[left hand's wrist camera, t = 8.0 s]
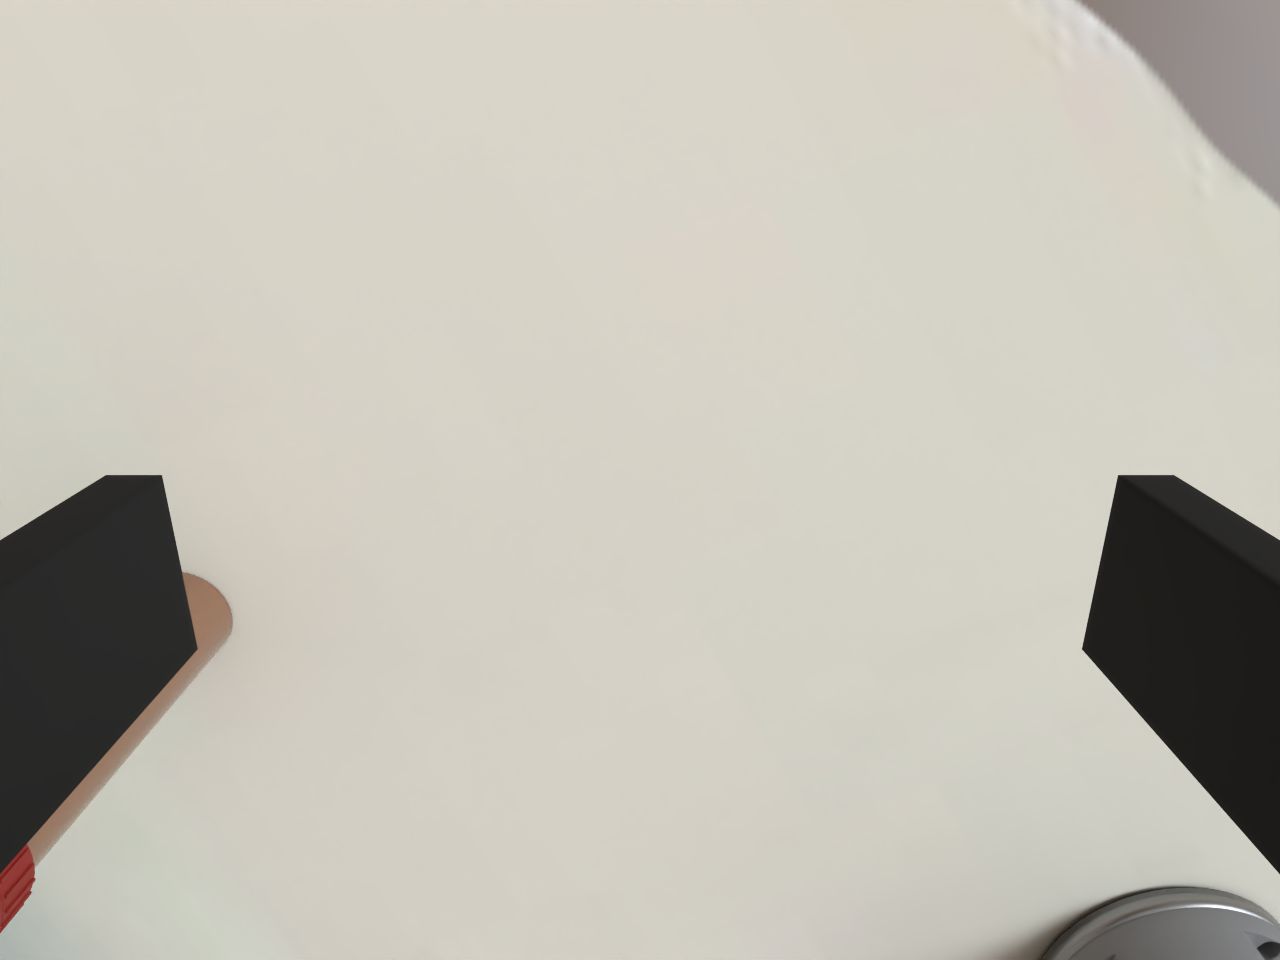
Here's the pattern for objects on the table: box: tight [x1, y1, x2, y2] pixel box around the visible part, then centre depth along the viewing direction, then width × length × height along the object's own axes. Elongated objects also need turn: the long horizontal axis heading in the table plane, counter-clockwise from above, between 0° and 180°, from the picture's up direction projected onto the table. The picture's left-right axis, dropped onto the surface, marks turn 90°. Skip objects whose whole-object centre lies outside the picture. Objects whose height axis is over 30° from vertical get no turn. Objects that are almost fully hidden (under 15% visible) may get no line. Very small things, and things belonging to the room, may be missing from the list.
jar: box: [27, 573, 232, 869], centre depth 35 cm, size 5×5×17 cm
